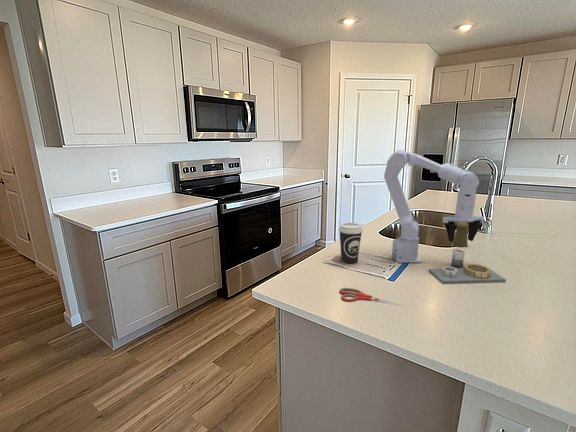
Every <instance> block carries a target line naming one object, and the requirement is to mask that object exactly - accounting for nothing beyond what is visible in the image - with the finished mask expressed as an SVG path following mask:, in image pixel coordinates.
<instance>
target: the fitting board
mask: <svg viewBox="0 0 576 432" xmlns="http://www.w3.org/2000/svg"><path fill="white" fill-rule="evenodd" d="M456 269H458V276H457V277H452V278H451V277H447V276H445V275H442V274H441V271H442V267H441V268H428V273H430V274H431V275H432V276H433V277H435V279H436V280H437V281H439V282H440V283H441V284H442V285H445V284H446V285H447V284H448V285H449V284H450V285H451V284H477V283H478V284H481V283H482V284H483V283H484V284H485V283H506V282H507V281H506V280H507V279H506V278H504V277H503V276H501V275H500V274H499V273H497V272H496V271H493V270H492V269H491V276H490V277H489V278H487V279H480V278H474V277H471V276H469V275H467V274H465V273H464V267H463V268H456ZM473 271H477V270H473ZM477 272H481V271H477Z"/></svg>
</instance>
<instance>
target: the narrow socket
mask: <svg viewBox="0 0 576 432" xmlns="http://www.w3.org/2000/svg"><path fill="white" fill-rule="evenodd" d="M441 268H442V271H441V274H442V275H445V276H447V277H451V278H452V277H457V276H458V269H456V268H455V267H452V266H449V265H447V266H446V265H445V266H442V267H441Z"/></svg>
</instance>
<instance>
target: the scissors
mask: <svg viewBox="0 0 576 432" xmlns="http://www.w3.org/2000/svg"><path fill="white" fill-rule="evenodd" d="M339 294H340V295H341V297H340V298H341V301H342V302H347V303H352V302H353V303H354V302H357V301H369V302H376V303H383V304H387V305H395V306H401V307H402V306H404V305H402V304H399V303H396V302H393V301H392V302H391V301H390V300H389V301H388V300H385V299H382V298H379V297H373V295H371V294H366V293H364V292H363V291H362V290H360V289H356V288H351V287H341V288H340V289H339Z"/></svg>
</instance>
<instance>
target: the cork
mask: <svg viewBox="0 0 576 432" xmlns="http://www.w3.org/2000/svg"><path fill="white" fill-rule="evenodd" d="M455 225H457V228H456V230H455V233H454V240H453V242H452V246H454V247H456V248H460V247H462V249H463V247H466V248H468V231H469V226H468V222H456V224H455Z"/></svg>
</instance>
